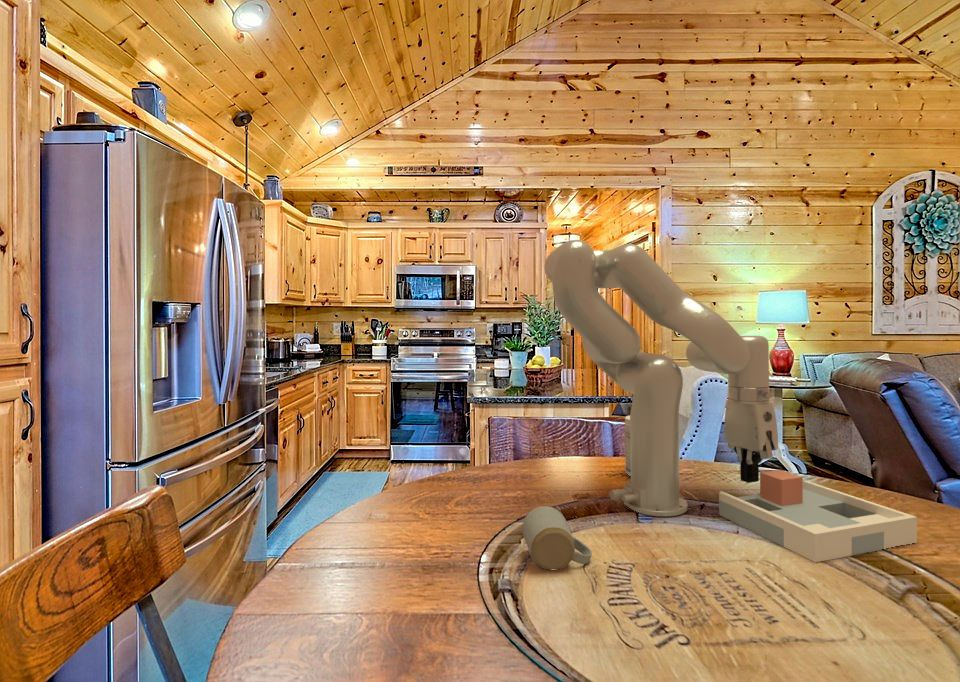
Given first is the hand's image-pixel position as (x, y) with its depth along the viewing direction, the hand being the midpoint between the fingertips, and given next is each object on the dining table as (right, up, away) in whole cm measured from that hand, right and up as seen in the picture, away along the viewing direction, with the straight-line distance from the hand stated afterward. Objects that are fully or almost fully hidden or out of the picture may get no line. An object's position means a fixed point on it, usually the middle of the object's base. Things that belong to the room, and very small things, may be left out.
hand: (749, 480), depth 104 cm
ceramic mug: (-44, -6, -24) cm, 51 cm away
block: (+2, -2, -8) cm, 8 cm away
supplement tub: (-16, -4, +19) cm, 25 cm away
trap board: (+4, -5, -14) cm, 15 cm away
